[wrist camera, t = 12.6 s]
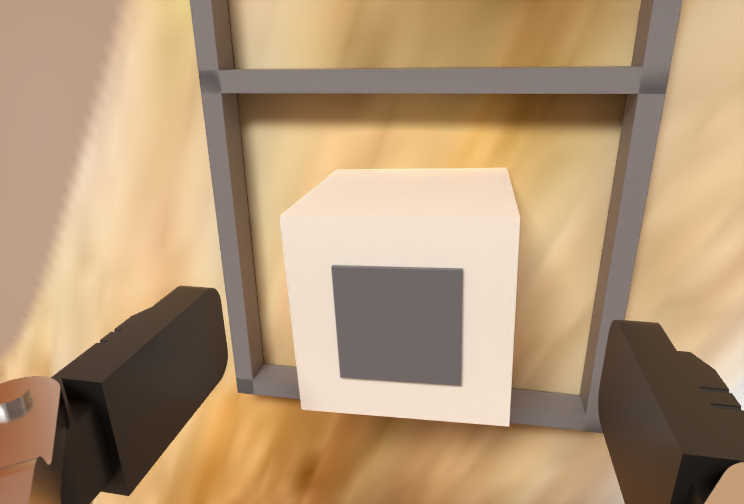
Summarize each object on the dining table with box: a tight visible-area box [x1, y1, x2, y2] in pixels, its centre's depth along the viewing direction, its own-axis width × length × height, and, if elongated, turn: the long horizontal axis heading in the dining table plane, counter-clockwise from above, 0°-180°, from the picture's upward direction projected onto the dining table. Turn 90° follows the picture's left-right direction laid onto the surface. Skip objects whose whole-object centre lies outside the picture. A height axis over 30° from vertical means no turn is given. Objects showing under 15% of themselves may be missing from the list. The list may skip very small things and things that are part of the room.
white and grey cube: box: [279, 168, 520, 426], centre depth 14 cm, size 5×5×5 cm
